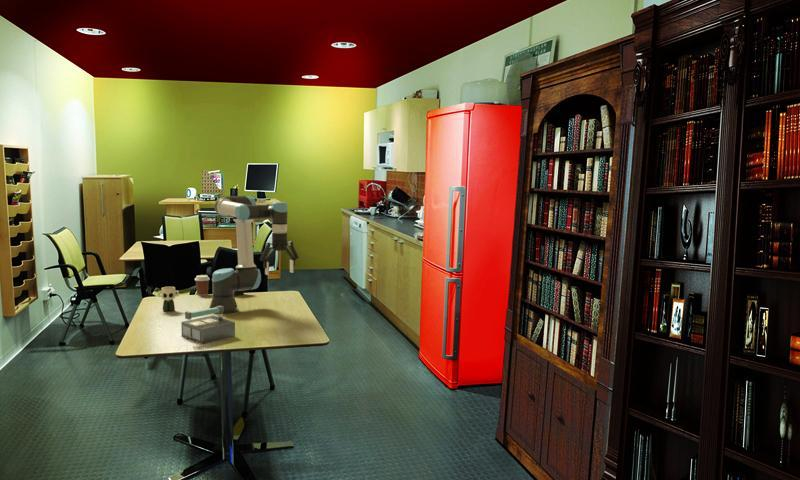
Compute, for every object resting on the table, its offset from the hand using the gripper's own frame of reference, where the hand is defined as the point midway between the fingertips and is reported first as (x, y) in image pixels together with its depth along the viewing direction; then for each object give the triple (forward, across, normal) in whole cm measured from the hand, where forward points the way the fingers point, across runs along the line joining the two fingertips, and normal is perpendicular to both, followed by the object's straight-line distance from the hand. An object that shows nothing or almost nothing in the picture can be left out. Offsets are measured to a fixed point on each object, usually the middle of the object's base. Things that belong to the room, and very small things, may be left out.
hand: (279, 273), depth 288 cm
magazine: (+28, +7, +80) cm, 84 cm away
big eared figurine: (+28, -40, +57) cm, 75 cm away
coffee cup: (+28, -12, +90) cm, 95 cm away
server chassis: (+27, -37, -3) cm, 46 cm away
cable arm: (+16, -39, -3) cm, 42 cm away
